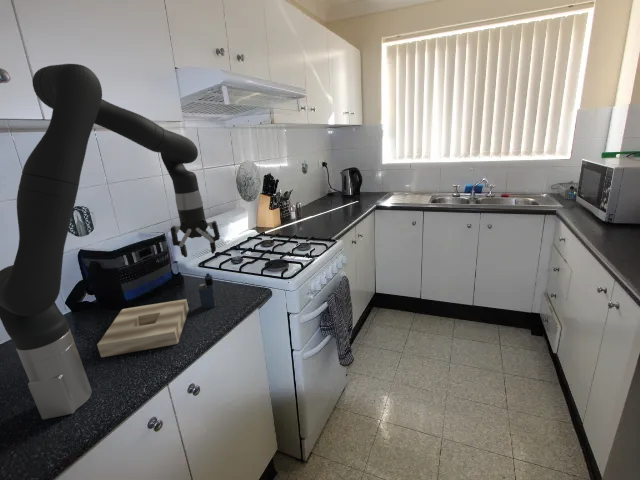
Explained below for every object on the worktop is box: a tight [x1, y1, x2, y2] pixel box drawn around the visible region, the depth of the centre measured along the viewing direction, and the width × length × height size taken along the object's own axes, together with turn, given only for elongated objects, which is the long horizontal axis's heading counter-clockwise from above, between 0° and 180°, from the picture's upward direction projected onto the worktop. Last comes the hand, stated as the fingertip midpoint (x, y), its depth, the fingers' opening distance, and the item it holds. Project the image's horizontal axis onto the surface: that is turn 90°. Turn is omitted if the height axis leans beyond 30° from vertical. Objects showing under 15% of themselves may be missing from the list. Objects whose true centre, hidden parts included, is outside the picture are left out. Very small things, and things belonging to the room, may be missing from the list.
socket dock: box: [96, 298, 190, 358], centre depth 103 cm, size 20×20×4 cm
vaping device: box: [198, 273, 218, 309], centre depth 114 cm, size 3×5×12 cm, turn 89°
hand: (199, 254), depth 110 cm, fingers open, 8 cm apart
